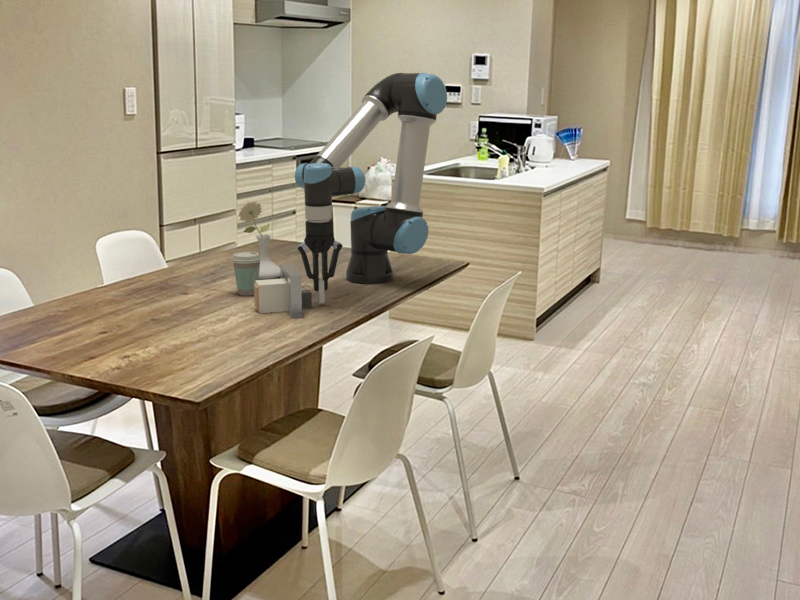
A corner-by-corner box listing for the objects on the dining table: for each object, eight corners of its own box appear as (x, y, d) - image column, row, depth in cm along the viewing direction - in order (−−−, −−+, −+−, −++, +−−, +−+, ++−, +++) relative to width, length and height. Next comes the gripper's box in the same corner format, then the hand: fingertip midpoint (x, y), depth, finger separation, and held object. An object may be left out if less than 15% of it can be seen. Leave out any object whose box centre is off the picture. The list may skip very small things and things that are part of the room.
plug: (308, 303, 255) (308, 276, 252) (313, 309, 249) (312, 281, 247) (254, 308, 250) (253, 280, 248) (257, 313, 245) (256, 285, 242)
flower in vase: (279, 272, 292) (276, 197, 285) (285, 280, 281) (283, 202, 275) (239, 275, 288) (235, 199, 281) (244, 283, 277) (241, 204, 271)
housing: (290, 298, 260) (288, 261, 257) (303, 317, 241) (302, 277, 238) (279, 299, 259) (278, 261, 256) (292, 318, 240) (291, 278, 237)
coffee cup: (256, 297, 261) (254, 257, 258) (229, 296, 263) (227, 256, 260) (266, 290, 269) (264, 251, 266) (239, 289, 271) (238, 250, 268)
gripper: (338, 216, 251) (340, 296, 258) (293, 218, 248) (296, 300, 254) (344, 221, 245) (346, 303, 251) (298, 223, 241) (300, 307, 247)
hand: (321, 301), depth 253 cm, fingers closed
